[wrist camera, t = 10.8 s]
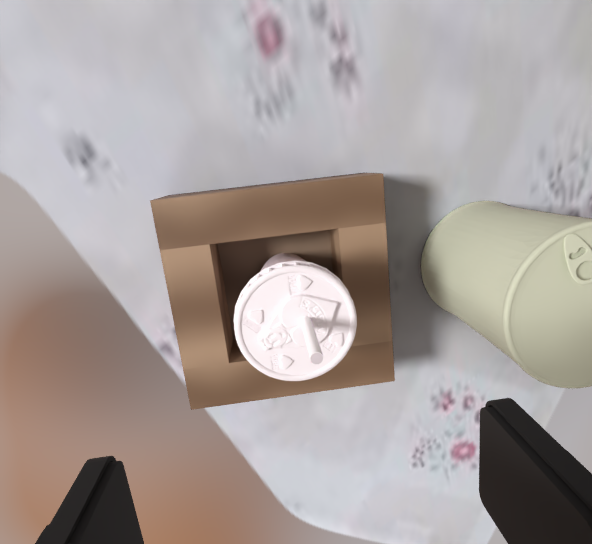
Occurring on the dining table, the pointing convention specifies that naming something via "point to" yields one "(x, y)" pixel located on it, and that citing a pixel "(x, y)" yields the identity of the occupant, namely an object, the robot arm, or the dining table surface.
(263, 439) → the dining table surface
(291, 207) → the socket block
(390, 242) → the dining table surface
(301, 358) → the smoothie
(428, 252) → the can
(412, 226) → the dining table surface
